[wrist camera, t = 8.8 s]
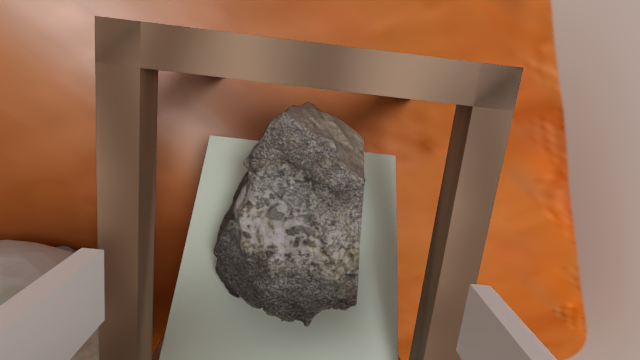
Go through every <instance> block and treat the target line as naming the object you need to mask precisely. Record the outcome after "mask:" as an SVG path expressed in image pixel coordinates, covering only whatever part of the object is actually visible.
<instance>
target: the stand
mask: <svg viewBox="0 0 640 360" xmlns="http://www.w3.org/2000/svg"><path fill="white" fill-rule="evenodd" d="M158 70H163V71H171V72H180V73H189V74H197V75H206V76H215V77H223V78H232V79H241V80H249V81H258V82H267V83H275V84H284V85H293V86H301V87H310V88H319V89H327V90H336V91H345V92H353V93H362V94H371V95H379V96H388V97H397V98H405V99H414V100H423V101H431V102H440V103H449V104H456V110H455V115H454V120H453V126H452V131H451V137H450V142H449V147H448V153H447V158H446V163H445V169H444V174H443V180H442V185H441V190H440V196H439V201H438V207H437V212H436V217H435V223H434V228H433V233H432V239H431V244H430V250H429V255H428V260H427V266H426V271H425V276H424V282H423V287H422V293H421V298H420V303H419V309H418V314H417V319H416V325H415V330H414V336H413V341H412V346H411V352H410V357H409V360H460V356H459V354H458V353H457V351H456V348H457V343H458V338H459V334H460V329H461V324H462V320H463V315H464V311H465V306H466V301H467V297H468V292H469V287H470V284H475V285H476V283H477V278H478V273H479V269H480V264H481V260H482V255H483V251H484V246H485V241H486V237H487V232H488V228H489V223H490V218H491V214H492V209H493V205H494V200H495V196H496V191H497V186H498V182H499V177H500V173H501V168H502V164H503V159H504V154H505V150H506V145H507V141H508V136H509V131H510V127H511V122H512V118H513V113H514V109H515V104H516V99H517V95H518V90H519V86H520V81H521V77H522V72H523V68H521V67H512V66H504V65H496V64H488V63H479V62H471V61H463V60H455V59H446V58H438V57H430V56H422V55H413V54H405V53H397V52H388V51H380V50H372V49H364V48H355V47H347V46H339V45H331V44H322V43H314V42H306V41H297V40H289V39H281V38H273V37H264V36H256V35H248V34H240V33H231V32H223V31H215V30H206V29H198V28H190V27H182V26H173V25H165V24H157V23H149V22H140V21H132V20H124V19H115V18H107V17H99V16H95V76H96V156H97V236H98V249H101V250H104V298H105V320H104V321H103V322H102V324H101V325H100V326H99V360H159V358H160V353H161V349H162V345H163V340H164V336H165V335H164V336H163V338H162V340H161V342H160V343H159V345H158V347H157V348H156V350H155V352H154V354H153V355H152V328H153V281H154V234H155V187H156V140H157V93H158ZM398 360H400V358H399V355H398Z"/></svg>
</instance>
